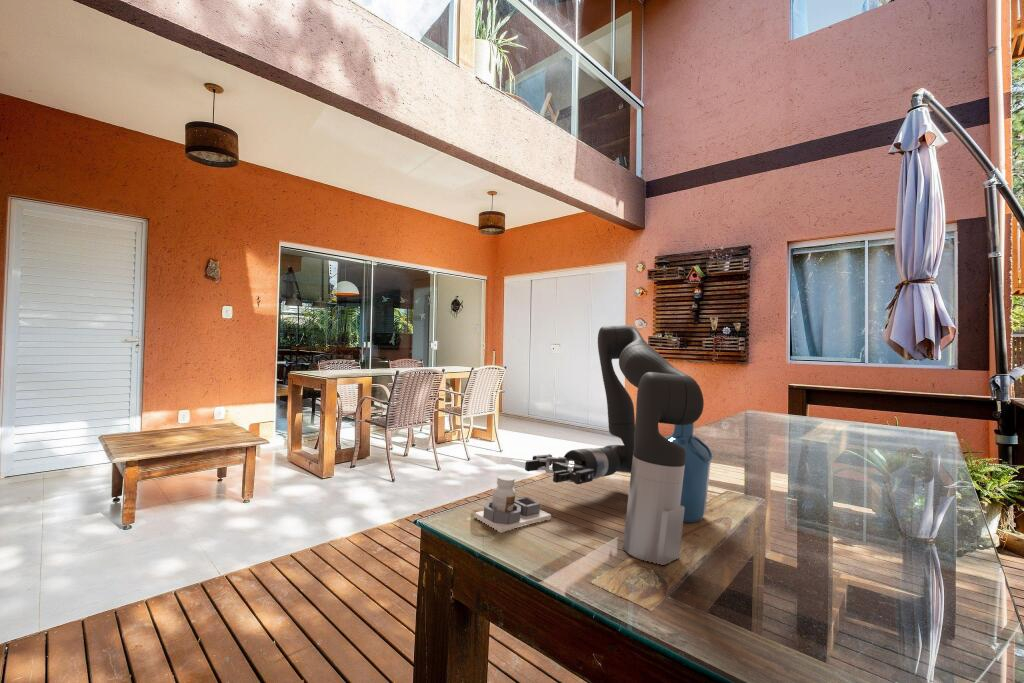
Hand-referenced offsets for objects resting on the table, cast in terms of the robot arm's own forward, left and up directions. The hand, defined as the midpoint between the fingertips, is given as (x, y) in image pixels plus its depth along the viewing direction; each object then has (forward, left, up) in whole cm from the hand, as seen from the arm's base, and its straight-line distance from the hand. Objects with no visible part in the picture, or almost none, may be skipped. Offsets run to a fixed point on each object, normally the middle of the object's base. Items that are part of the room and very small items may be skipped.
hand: (540, 471), depth 98 cm
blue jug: (-16, -31, -9) cm, 36 cm away
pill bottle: (-1, +11, -8) cm, 13 cm away
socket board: (-1, +8, -9) cm, 12 cm away
